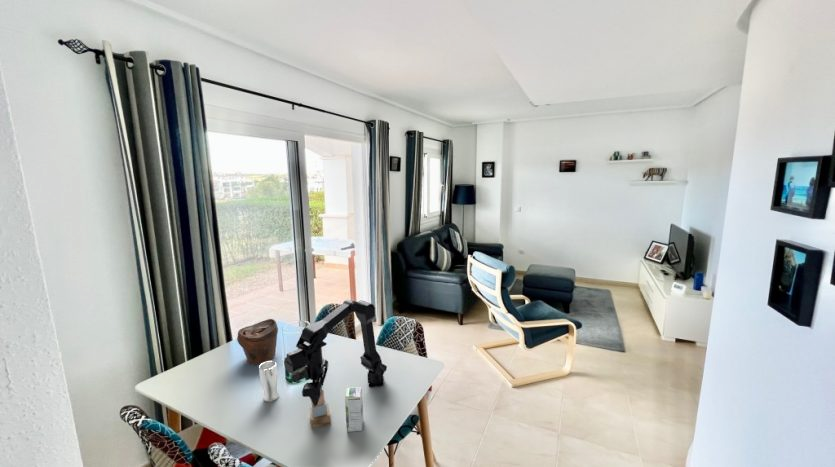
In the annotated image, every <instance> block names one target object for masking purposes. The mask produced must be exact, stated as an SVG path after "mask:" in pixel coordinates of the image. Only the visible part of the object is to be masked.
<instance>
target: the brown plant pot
mask: <svg viewBox="0 0 835 467" xmlns="http://www.w3.org/2000/svg"><path fill="white" fill-rule="evenodd" d="M278 332H279V328H278V325H277V321H276V320H275V319H273V318H268V319H265V320H262V321H260V322H258V323H255V324H253V325H248V326H244V327H242V328H240V329H239V330H238V331H237V336H236V341H237V343H238V344H239V346H240V347H241V348H242V350H243V352H244V355H245V358H246V360H247V363H249V364H254V365H257V364H258V365H259V364H262V363H264V362H267V361H271V359H273V358H274V357H275V355H276V350H277V340H278V339H277V338H278Z"/></svg>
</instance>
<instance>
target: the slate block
mask: <svg viewBox="0 0 835 467" xmlns="http://www.w3.org/2000/svg"><path fill="white" fill-rule="evenodd" d="M326 404H327V402H326V397H325V396H324V404H323V405H321V406H319V407H314V406H312V405H311V407H312V412H313V418H314V417H318V416H322V415H326V414H327V408H326Z"/></svg>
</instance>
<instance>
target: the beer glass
mask: <svg viewBox="0 0 835 467" xmlns="http://www.w3.org/2000/svg"><path fill="white" fill-rule="evenodd" d="M258 371H259V372H258V375H259V382H260V384H261V387H262V391H263V401H265V403H266V402H267V403H271V402H273V401H275V400H278V398H279V396H280V393H279V390H278V382H279V380H278V379H279V373H278V366H277V363H276V361H274V360H268V361H266V362H263V363H260V365H259V366H258Z"/></svg>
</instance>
